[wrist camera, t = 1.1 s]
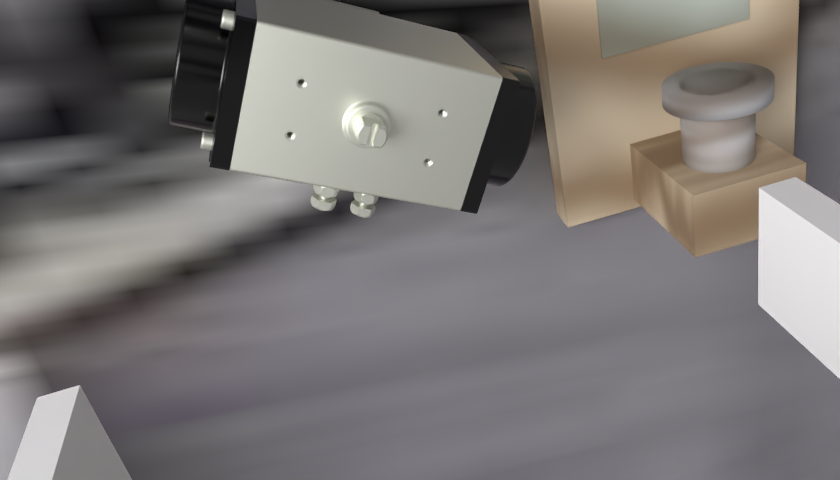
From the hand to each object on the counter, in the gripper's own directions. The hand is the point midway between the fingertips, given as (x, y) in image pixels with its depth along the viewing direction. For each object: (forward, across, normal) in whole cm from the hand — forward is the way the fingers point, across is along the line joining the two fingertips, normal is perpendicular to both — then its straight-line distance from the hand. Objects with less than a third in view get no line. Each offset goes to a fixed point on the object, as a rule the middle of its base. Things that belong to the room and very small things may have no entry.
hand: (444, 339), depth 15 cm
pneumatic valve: (+22, 0, 0) cm, 22 cm away
